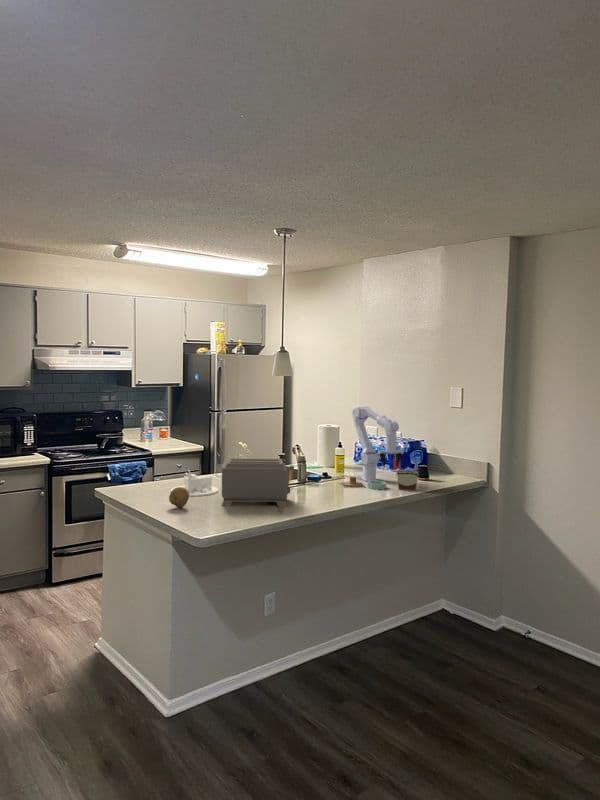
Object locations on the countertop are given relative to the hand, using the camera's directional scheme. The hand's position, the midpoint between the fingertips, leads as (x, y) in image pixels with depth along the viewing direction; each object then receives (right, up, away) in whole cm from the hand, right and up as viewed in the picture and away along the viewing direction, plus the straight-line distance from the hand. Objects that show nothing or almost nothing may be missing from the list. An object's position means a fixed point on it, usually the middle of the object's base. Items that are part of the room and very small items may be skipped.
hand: (390, 466), depth 356 cm
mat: (-22, -10, -4) cm, 24 cm away
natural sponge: (-108, -13, -64) cm, 127 cm away
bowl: (-9, -11, -9) cm, 16 cm away
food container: (+8, -12, -10) cm, 17 cm away
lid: (-22, -10, -4) cm, 24 cm away
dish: (-107, -11, -27) cm, 111 cm away
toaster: (-72, -13, -49) cm, 88 cm away
